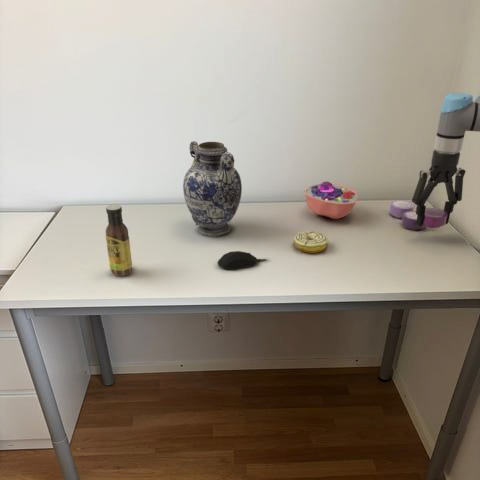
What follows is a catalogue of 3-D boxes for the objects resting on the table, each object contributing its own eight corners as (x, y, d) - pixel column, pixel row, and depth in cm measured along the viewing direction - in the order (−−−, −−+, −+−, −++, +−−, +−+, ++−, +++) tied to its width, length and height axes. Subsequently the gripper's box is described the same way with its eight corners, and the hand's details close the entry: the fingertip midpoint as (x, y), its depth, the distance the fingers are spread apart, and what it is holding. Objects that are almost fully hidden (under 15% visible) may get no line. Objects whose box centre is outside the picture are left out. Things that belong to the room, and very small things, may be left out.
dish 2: (437, 218, 167) (439, 206, 165) (449, 228, 160) (452, 216, 158) (414, 220, 166) (416, 208, 163) (425, 230, 159) (428, 218, 157)
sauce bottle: (106, 272, 147) (95, 206, 136) (123, 264, 151) (114, 200, 140) (120, 279, 144) (110, 212, 133) (137, 271, 148) (129, 205, 136)
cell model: (327, 230, 171) (330, 198, 165) (293, 210, 186) (295, 179, 179) (366, 220, 178) (371, 189, 172) (331, 202, 192) (334, 172, 186)
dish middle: (418, 221, 178) (420, 210, 176) (429, 230, 172) (432, 219, 169) (396, 222, 177) (398, 211, 175) (407, 232, 170) (409, 221, 168)
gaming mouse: (269, 265, 151) (269, 252, 149) (220, 271, 148) (220, 259, 145) (262, 255, 156) (263, 243, 154) (215, 262, 153) (215, 249, 150)
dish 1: (405, 210, 186) (407, 199, 184) (415, 218, 180) (418, 207, 177) (385, 211, 185) (386, 200, 183) (394, 220, 178) (396, 209, 176)
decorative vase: (172, 227, 173) (166, 142, 157) (215, 213, 183) (213, 132, 167) (212, 249, 160) (208, 158, 144) (255, 232, 170) (257, 146, 154)
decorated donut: (317, 237, 167) (318, 227, 165) (333, 251, 158) (334, 240, 156) (288, 242, 164) (288, 231, 162) (302, 256, 155) (303, 245, 153)
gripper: (472, 145, 155) (455, 216, 167) (407, 149, 152) (395, 221, 164) (486, 152, 149) (468, 225, 161) (419, 156, 146) (406, 231, 158)
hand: (431, 223), depth 163 cm, fingers closed on dish 2, 8 cm apart
